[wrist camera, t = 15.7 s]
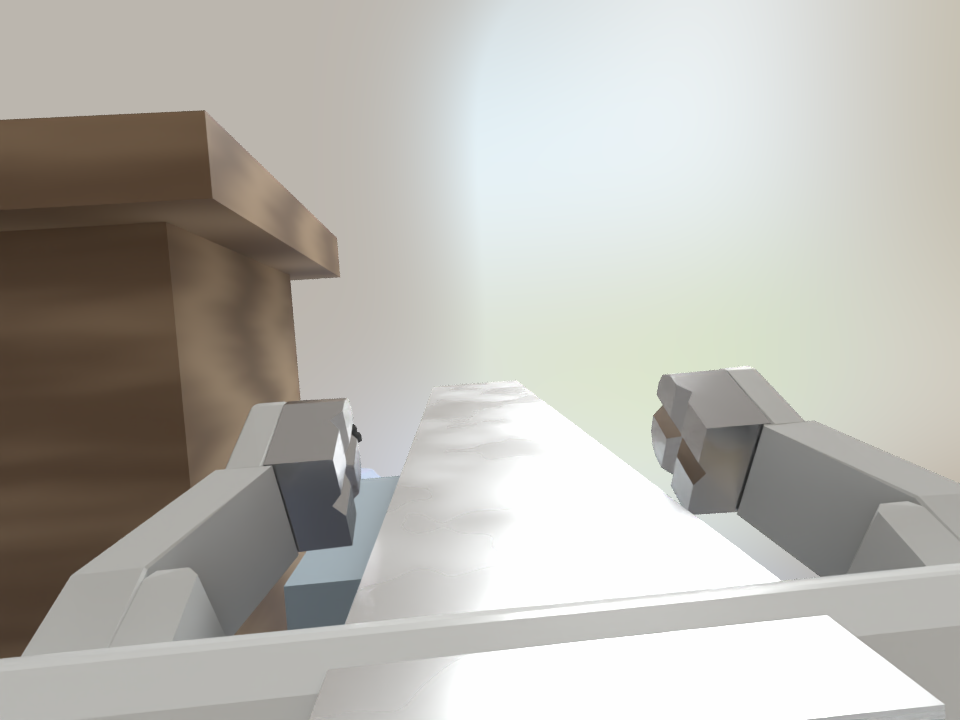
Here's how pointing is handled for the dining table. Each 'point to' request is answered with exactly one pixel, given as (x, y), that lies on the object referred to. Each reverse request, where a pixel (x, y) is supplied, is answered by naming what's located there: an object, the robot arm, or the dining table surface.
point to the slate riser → (338, 564)
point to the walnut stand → (133, 333)
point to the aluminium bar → (579, 589)
